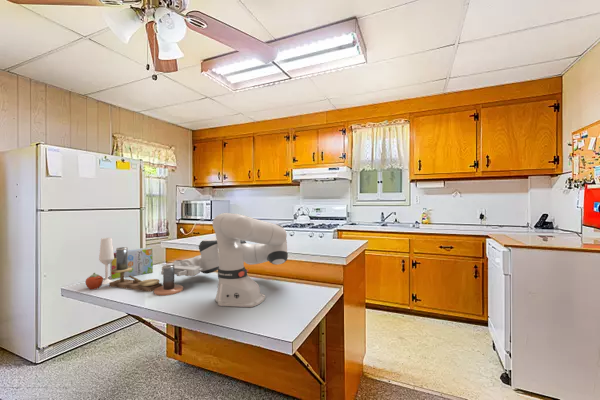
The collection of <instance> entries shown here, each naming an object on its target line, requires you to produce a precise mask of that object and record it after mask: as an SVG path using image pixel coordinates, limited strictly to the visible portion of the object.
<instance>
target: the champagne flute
mask: <svg viewBox="0 0 600 400" xmlns="http://www.w3.org/2000/svg"><path fill="white" fill-rule="evenodd" d="M113 251H114V247H113V238H112V237H102V238H101V239H100V246H99V255H98V256H99V258H98V261H99V262H100V263H101V264H103V265H104V267H105V268H104V269H105V270H104V273H105V278H104V279H103V283H102V285H108V284H107V283H110V282H113V281H114V280H113V279H109V265H110V263H111V262H112V261H113V259H114V253H113Z"/></svg>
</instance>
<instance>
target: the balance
mask: <svg viewBox="0 0 600 400" xmlns="http://www.w3.org/2000/svg"><path fill="white" fill-rule="evenodd" d="M131 270H132V267H128V269H126V270H116V268H115V269H113V270H112V272H113V273H120V278H118V279H117V280H112V281H113V282H110V283H109V284H108V285H109V287H110V286H111V287H112V288H120V289H126V288H127V289H128V290H134V291H143V292H154V290H155V289H156V288H158V287H160V286H163V282H160V280H159V279H158V278H150V279H145V280H140V279H139V278H137V277H134V276H131V275H130V276H128V278H129V279H127V278H125V277H124V272H128V271H131ZM127 289H126V290H127Z"/></svg>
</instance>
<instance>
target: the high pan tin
mask: <svg viewBox="0 0 600 400" xmlns="http://www.w3.org/2000/svg"><path fill="white" fill-rule="evenodd" d="M128 250H129V249H128V247H127V246H126V247H123V246H121V247H116V250H115V251H116V270H126V269H128Z"/></svg>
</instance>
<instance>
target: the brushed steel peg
mask: <svg viewBox="0 0 600 400" xmlns="http://www.w3.org/2000/svg"><path fill="white" fill-rule="evenodd" d="M162 266H163V275H162V281H163V282H162V286H163V289H164V290H170V289H173V288H174V284H175V274H174V265H166V264H165V266H164V265H162Z"/></svg>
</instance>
